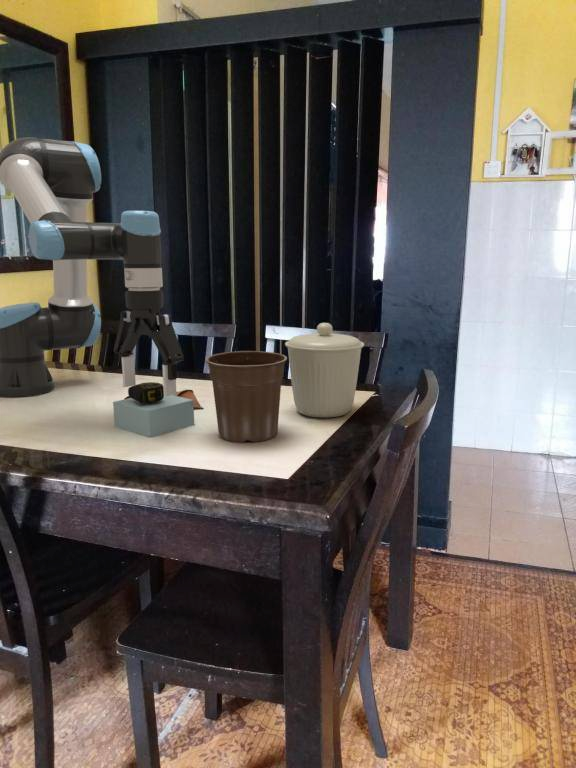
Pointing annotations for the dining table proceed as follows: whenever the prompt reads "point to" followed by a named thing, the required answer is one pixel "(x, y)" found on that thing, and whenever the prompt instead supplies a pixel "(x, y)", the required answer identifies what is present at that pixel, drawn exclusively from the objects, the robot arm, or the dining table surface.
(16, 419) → the dining table surface
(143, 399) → the tape measure
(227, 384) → the plant pot
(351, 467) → the dining table surface
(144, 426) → the painted block
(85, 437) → the dining table surface
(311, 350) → the canister
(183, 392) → the sunglasses case
